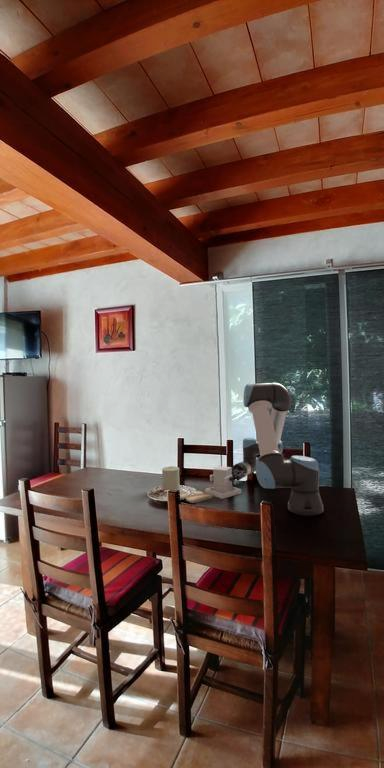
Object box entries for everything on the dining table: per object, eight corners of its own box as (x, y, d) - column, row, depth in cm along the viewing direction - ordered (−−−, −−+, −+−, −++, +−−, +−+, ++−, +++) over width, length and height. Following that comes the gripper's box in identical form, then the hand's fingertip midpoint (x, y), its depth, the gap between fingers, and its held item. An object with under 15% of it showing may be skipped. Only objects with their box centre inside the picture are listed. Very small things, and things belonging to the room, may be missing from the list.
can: (181, 487, 213) (180, 465, 213) (178, 492, 204) (178, 469, 203) (164, 487, 214) (163, 465, 214) (161, 492, 205) (160, 469, 204)
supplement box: (232, 491, 203) (232, 467, 203) (226, 495, 197) (225, 470, 196) (220, 489, 207) (219, 465, 206) (213, 493, 200) (212, 468, 200)
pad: (212, 497, 195) (212, 495, 195) (192, 503, 187) (192, 501, 187) (197, 492, 204) (197, 490, 204) (178, 497, 197) (178, 495, 197)
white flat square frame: (241, 493, 200) (241, 489, 200) (222, 498, 193) (222, 494, 193) (224, 487, 211) (224, 483, 211) (205, 492, 203) (205, 488, 203)
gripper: (258, 479, 209) (235, 490, 191) (225, 473, 222) (201, 483, 204) (257, 465, 209) (235, 474, 191) (224, 460, 222) (200, 469, 204)
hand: (217, 479), depth 198 cm, fingers closed on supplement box, 8 cm apart
